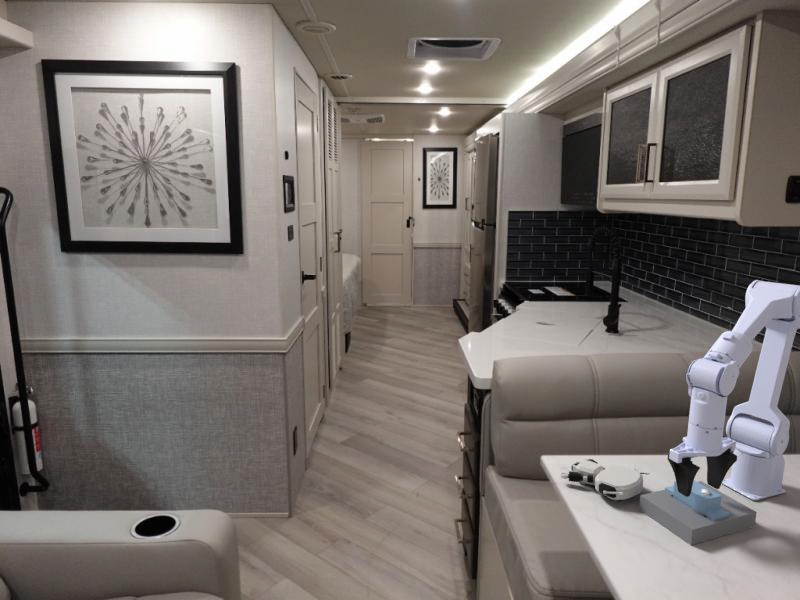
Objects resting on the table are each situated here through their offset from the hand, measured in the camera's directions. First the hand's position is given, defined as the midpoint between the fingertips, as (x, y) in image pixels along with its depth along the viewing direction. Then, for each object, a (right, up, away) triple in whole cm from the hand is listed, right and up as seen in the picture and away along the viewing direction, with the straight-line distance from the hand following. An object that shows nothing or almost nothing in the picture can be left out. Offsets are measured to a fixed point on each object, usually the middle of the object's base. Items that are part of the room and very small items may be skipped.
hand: (698, 490), depth 102 cm
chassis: (0, -6, +1) cm, 6 cm away
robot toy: (-14, -4, +12) cm, 19 cm away
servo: (0, -5, +1) cm, 5 cm away
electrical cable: (-8, -4, +15) cm, 18 cm away
